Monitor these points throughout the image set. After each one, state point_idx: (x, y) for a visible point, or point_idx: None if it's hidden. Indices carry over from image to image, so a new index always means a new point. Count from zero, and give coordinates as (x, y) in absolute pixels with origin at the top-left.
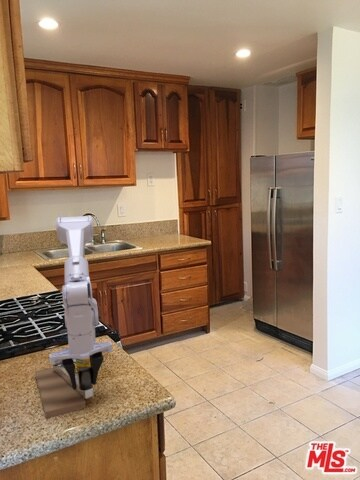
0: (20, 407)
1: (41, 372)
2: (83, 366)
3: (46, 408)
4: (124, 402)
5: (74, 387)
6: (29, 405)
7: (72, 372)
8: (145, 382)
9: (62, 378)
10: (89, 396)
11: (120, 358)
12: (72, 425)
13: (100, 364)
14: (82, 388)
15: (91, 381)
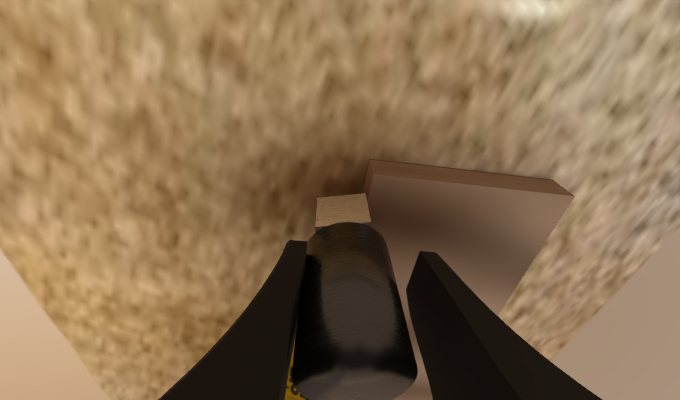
0: (561, 294)
1: None
2: (292, 398)
3: (549, 222)
4: (156, 80)
5: (440, 260)
6: (532, 290)
7: (536, 380)
8: (9, 200)
9: None
10: (340, 197)
11: (129, 386)
12: (506, 35)
13: (183, 387)
14: (382, 242)
15: (318, 262)
